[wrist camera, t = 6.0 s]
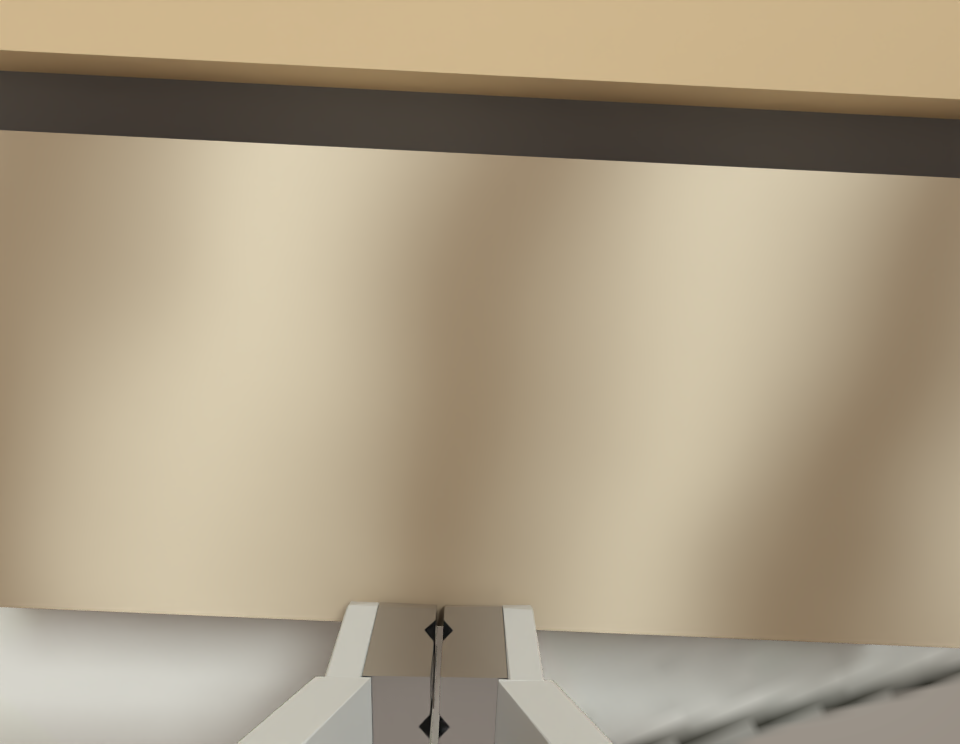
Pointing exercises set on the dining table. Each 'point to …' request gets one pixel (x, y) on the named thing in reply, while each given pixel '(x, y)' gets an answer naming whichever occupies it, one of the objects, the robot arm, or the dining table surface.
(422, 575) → the ash plank
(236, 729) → the dining table surface
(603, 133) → the laid floor
